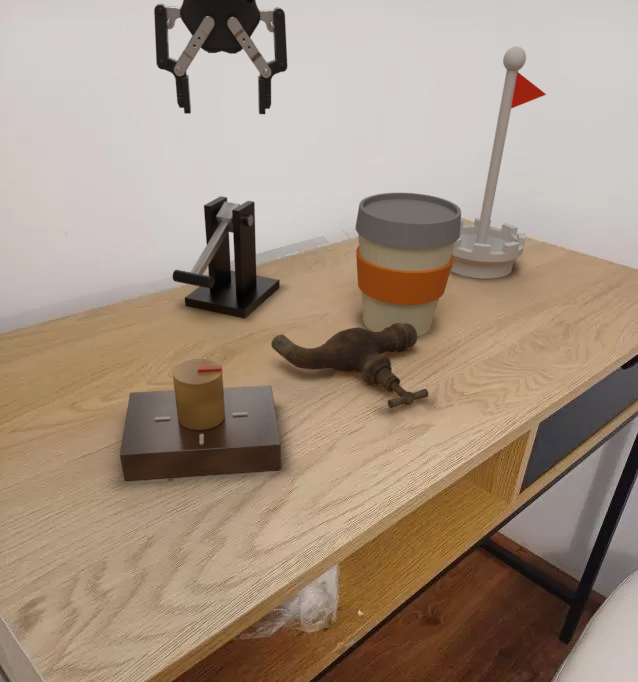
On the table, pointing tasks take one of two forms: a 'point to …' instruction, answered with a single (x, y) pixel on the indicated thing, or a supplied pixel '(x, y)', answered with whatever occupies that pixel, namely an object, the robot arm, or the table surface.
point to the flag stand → (480, 239)
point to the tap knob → (199, 394)
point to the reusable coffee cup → (404, 257)
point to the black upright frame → (242, 284)
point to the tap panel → (200, 437)
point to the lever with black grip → (209, 250)
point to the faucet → (358, 356)
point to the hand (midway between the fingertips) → (224, 112)
